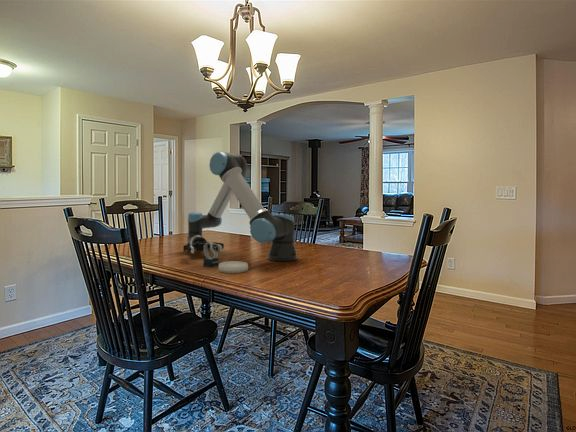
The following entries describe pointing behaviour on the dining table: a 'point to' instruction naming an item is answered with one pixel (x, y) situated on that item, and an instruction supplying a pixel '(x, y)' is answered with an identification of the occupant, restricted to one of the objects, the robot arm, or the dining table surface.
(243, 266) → the display plinth
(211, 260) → the watch
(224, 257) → the dining table surface
